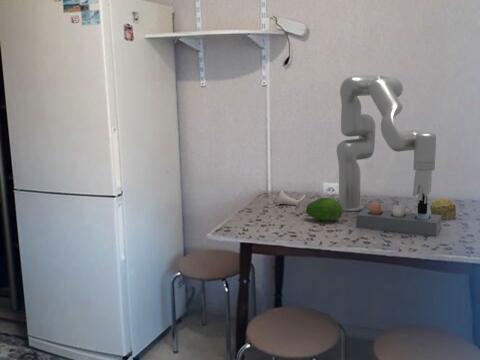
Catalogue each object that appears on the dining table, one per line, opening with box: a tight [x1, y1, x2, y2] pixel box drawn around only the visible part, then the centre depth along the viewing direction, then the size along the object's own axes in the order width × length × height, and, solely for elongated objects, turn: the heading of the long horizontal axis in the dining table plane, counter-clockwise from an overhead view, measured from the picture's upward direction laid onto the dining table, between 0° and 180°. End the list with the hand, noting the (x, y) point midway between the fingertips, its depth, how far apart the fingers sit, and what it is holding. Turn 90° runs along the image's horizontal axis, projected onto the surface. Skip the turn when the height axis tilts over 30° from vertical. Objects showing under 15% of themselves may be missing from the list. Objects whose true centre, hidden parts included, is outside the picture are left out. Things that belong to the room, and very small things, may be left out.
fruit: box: [305, 197, 344, 222], centre depth 205 cm, size 15×10×10 cm, turn 65°
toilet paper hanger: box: [276, 190, 307, 207], centre depth 243 cm, size 23×10×8 cm, turn 163°
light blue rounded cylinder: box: [416, 212, 430, 220], centre depth 187 cm, size 4×4×5 cm
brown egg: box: [369, 202, 382, 215], centre depth 196 cm, size 4×4×5 cm
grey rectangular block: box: [355, 207, 443, 237], centre depth 192 cm, size 30×12×5 cm, turn 59°
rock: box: [429, 197, 457, 221], centre depth 204 cm, size 10×11×10 cm
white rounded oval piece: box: [392, 204, 406, 217], centre depth 191 cm, size 4×4×5 cm
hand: (422, 213), depth 187 cm, fingers closed
